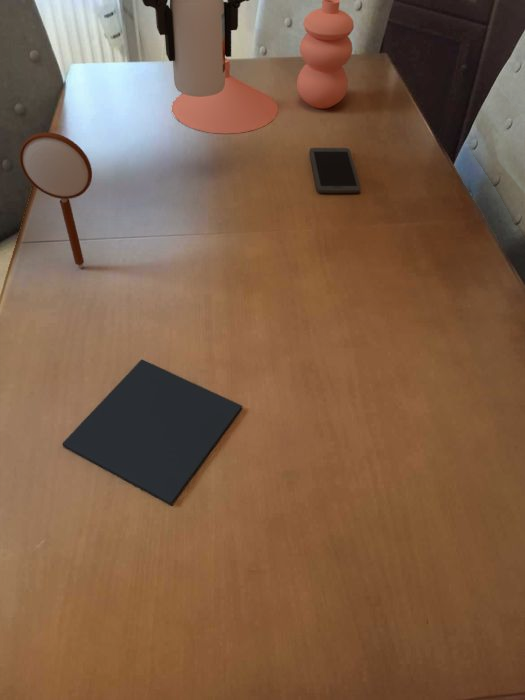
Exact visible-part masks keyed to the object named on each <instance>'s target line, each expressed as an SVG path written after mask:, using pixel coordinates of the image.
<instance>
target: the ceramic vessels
mask: <svg viewBox="0 0 525 700" xmlns="http://www.w3.org/2000/svg"><path fill="white" fill-rule="evenodd" d="M340 2H341V0H321V8H317V9H314V10H312V11H310V12H309V13H308V14H306V15H305V17H304V20H303V23H302V26H303V28H304V30H305V32H306V33H305V34H304V36H303V37H302V39H301V40H300V44H299V54H300V56H301V58H302V60H303V62H304V63H306V64H305V65H303V67H302V68H301V69H300V70H299V74H298V76H297V81H296V86H297V87H296V88H297V89H296V90H297V92H298V95H299V97H300V98H301V99H302V100H303V101H304V102H305V103H306V104H307V105H309V106H310V107H312V108H315V109H323V110H324V109H329V108H331V107H333V106H335V105H337V104H338V103H340V102H341V101H342V100H343V99H344V97H345V95H346V94H347V91H348V87H349V85H348V84H349V81H348V80H349V79H348V75H347V72H346V70H345V69H344V67H343V66H345V65H346V64H347V63H348V62H349V61H350V59H351V57H352V54H353V43H352V41H351V38H350V37H349V36H350V35H351V33H352V32H353V30H354V28H355V27H354V26H355V25H354V19H353V18H352V16H350V15H349V14H348V13H347V12H345V11H343V10H341V9H340ZM230 68H231V63H230V59H229V58H228V57H225V86H224V89H223V90H222V91H221V92H219V93H218V94H215V95H211V96H205V97H196V96H189V95H186V94H183V93H181V94H179V95H178V96H179V97H178V96H177V97H176V98H175V99H176V100H175V99H174V100H175V101H174V100H173V101H172V103H173V105H172V104H171V106H172V110H171V113H172V112H173V114H174V115H175V117H176V118H177V119H178V120H179V121H180V122H179V121H178V120H177V119H176V118H175V117H174V118H175V119H176V120H177V121H178V122H179V123H181V124H182V123H183V124H182V125H184V126H186V127H188V128H191V129H193V130H197V131H200V132H205V133H211V134H226V135H227V134H239V133H248V132H252V131H254V130H258V129H260V128H263V127H265V126H266V125H268V124H270V123H272V121H273V120H275V119H276V117H277V115H278V113H279V107H278V104H277V102H276V101H275V100H274V99H273V98H272V97H271V96H270V95H269V94H267V93H266V92H263V91H261V90H260V89H257V88H255V87H253V86H251V85H249V84H248V83H245V82H243V81H242V80H239V79H238V78H236V77H234V76H232V75H231V73H230V70H231V69H230ZM173 114H172V115H173ZM174 115H173V116H174Z"/></svg>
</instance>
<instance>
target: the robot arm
mask: <svg viewBox="0 0 525 700" xmlns="http://www.w3.org/2000/svg"><path fill="white" fill-rule="evenodd" d="M141 1H142V3H143V5H144V6H145V7H147V8H149V7H151V8H153V9H154V10H155V11H154V12H155V23H156V30H157V32H158V34H159V35H160V36H164V42H165V43H164V45H165V55H166V57H167V59H168V61H169V62H173V61H175V57H174V42H173V27H172V12H171V10H170V5H169V4H168V3H169V0H141ZM249 1H250V0H227V1H224V15H225V58H232V31H238V27H239V9H240V7H241V4H242V3H244V2H249Z"/></svg>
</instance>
